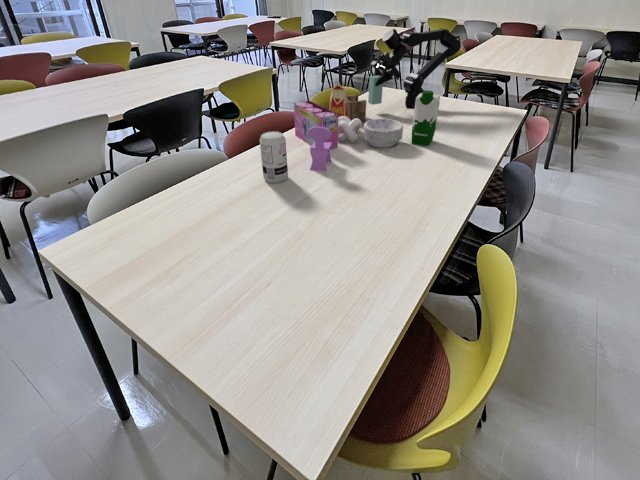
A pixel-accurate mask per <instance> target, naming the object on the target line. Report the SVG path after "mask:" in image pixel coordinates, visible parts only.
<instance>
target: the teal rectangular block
mask: <svg viewBox="0 0 640 480" xmlns="http://www.w3.org/2000/svg"><path fill="white" fill-rule="evenodd" d="M379 78H380V75H377V76H373V75H370V76H369V81H368V83H369V84H368V98H367V102H368V104H370V105H379V104H382V100H383V89H384V87H383V86H384V83H382V84H380V85H378V86H376V85H375V84H376V82H377V81H378V79H379Z"/></svg>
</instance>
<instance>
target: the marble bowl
mask: <svg viewBox="0 0 640 480" xmlns="http://www.w3.org/2000/svg"><path fill="white" fill-rule="evenodd" d="M403 133H404V124H403V123H402V122H400V121H398V120H395V119H392V118H374V119H373V118H372V119H369V120H368V121H367V120H366V121H365V122H364V124H363V138H364V139H365V140H366V141H368V143H369V145H371V146H373V147H375V148H381V149H384V148H385V149H386V148H390V147H393V146H394V145H396V143H397V142H400V140H402V139H403Z"/></svg>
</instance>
